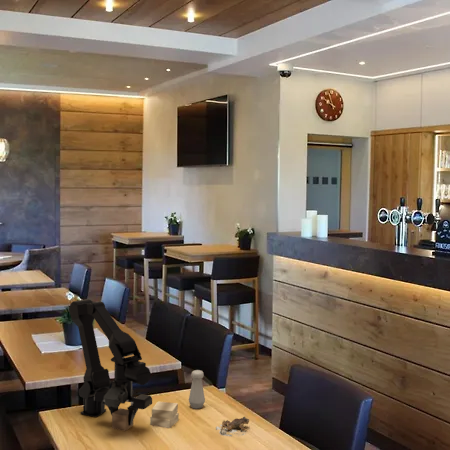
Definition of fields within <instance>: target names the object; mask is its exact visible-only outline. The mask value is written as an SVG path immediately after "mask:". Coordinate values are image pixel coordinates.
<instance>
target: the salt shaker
mask: <svg viewBox="0 0 450 450" xmlns="http://www.w3.org/2000/svg"><path fill="white" fill-rule="evenodd" d="M204 376H205V375H204V372H203V370H200V369H195V370H193V371H191V378H192V382H191V386H190V392H189V395H188V403H189V406H190V407H191V408H192V409H197V410H199V409H202V408H203V406H204V404H205V401H206V398H205V392H204V387H203V385H204V384H203V378H204Z"/></svg>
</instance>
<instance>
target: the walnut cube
mask: <svg viewBox="0 0 450 450" xmlns="http://www.w3.org/2000/svg"><path fill="white" fill-rule="evenodd" d="M128 417H129V410H128V409H127V408H121V407H120V408H118V410H117V411H115V412H114V413H112V415H111V429H112V430H117V431H122V432H123V431H124V432H126V431H128V430H129V429H131V428H132V427H133V426H134V421H133V422H132V424H131V425H130V426H129V424H128Z"/></svg>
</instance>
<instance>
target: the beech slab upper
mask: <svg viewBox="0 0 450 450" xmlns="http://www.w3.org/2000/svg"><path fill="white" fill-rule="evenodd" d="M178 405H179V403H178V402H166V401H157V402H156V403H155V405H154V406H153V407H152V408H151V416H152V418H156V419H166V420H173V418H174V417H175V415H176V414H177V413H179V407H178Z"/></svg>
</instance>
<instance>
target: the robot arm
mask: <svg viewBox="0 0 450 450" xmlns="http://www.w3.org/2000/svg"><path fill="white" fill-rule="evenodd" d="M68 312H69V315H70V317H71V320H72V322H73V324H75V326H76V327H77V328H78V332H79V338H80V343H81V347H82V353H83V358H84V364H85V372H84V374H83V384H82V385H81V387H80V388H79V389H78V394H79V397H80V398H82V399H83V400H82V401H83V402H82V404H83V405H82V406H83V407H82V408H83V409H82V411H80V415H84V416H90V417H93V418H94V417H95V418H97V417H99V416H101V415H102V414H103V413H105V412H106V411H107V409H106V407H107V408H108V409H109V412H110V415H111V416H112V413H114V412H115V411H117V410H118V409H119V407H120V405H121V404H125V403H126V402H127V403H130V405H129V406H127V407H126V409H128V410H129V417H128V424H129V426H130V425H131V424H132V422H133V423H134V419H135V417H136V414H137V412H138V410H146V409H147V408H149V407H150V406H151V405H152V404H153V397H152V395H149V394H144V393H143V394H142V393H140V394H139V395H137V396H134V394H135V390H133V383H134V384H138V385H141V386H144V385H147V383H149V381H150V379H151V375H152V372H151V370H150V368H149V367H147V363H146V362H145V361H142V360H143V357H142V354H141V352H140V350H139V348H138V346H137V343H136V341H135V339H134V338H133V337H132V336H131V335H130V334H129V333H127V332H125V331H123V330H122V329H121V328H120V326H119V325H118V324H117V322H116V321H115V320H114V318H113V317H112V315H111V314H110V313H109V311H108V310H107V307H106V305H105V303H104V302H103V301H92V300H91V299H90V298H88V299H87V298H86V299H79V300H74V301H71V303H70V305H69V307H68ZM94 321H95V322H96V323H97V325H98V326H99V328H100V329H101V330H102V332H103V334H104V335H105V337H106V338H107V339H108V349H109V350H110V352H111V354H112V356H113V357H111V358H110V361H111V362H113V363H114V379H113V380H112V382H111V378H110V373H109V369H108V368H104V366H103V365H102V363H101V359H100V354H99V349H98V348H99V347H98V343H97V340H96V333H95V330H94V329H95V328H94ZM110 386H111V387H110Z"/></svg>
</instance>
